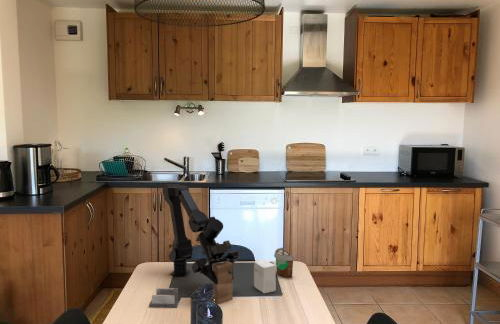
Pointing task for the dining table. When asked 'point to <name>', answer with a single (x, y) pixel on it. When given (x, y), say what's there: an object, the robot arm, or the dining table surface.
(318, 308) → the dining table surface
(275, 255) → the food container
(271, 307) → the dining table surface
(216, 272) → the brown wooden block
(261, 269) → the small box
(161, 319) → the dining table surface
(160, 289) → the hinge base
